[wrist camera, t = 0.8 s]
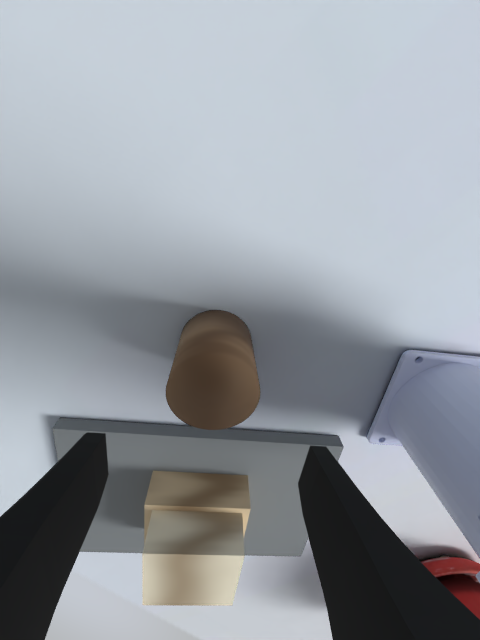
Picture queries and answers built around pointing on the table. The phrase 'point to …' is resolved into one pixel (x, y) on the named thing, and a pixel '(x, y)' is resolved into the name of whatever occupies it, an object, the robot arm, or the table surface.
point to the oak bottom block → (197, 494)
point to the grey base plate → (197, 457)
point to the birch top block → (192, 558)
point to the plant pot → (458, 579)
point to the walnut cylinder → (214, 372)
